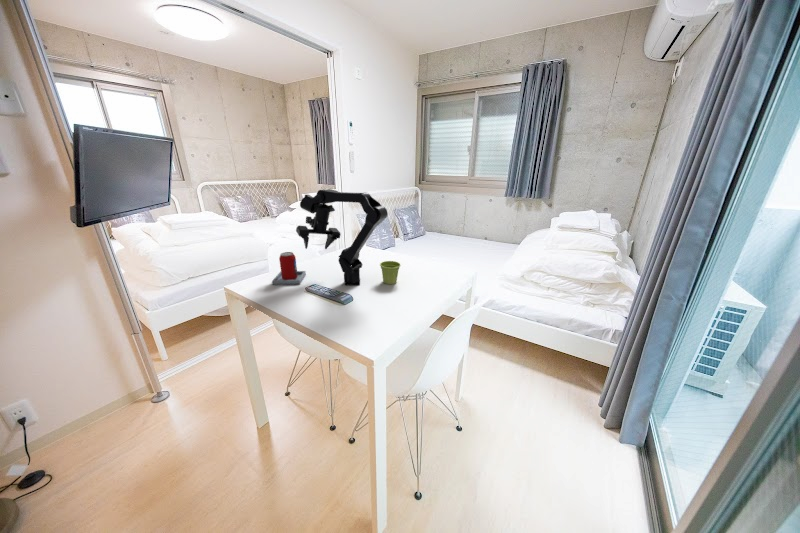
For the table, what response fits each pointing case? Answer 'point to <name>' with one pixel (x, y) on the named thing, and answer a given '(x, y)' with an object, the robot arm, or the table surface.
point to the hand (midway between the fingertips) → (315, 248)
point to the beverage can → (288, 266)
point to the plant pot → (390, 271)
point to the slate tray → (298, 280)
